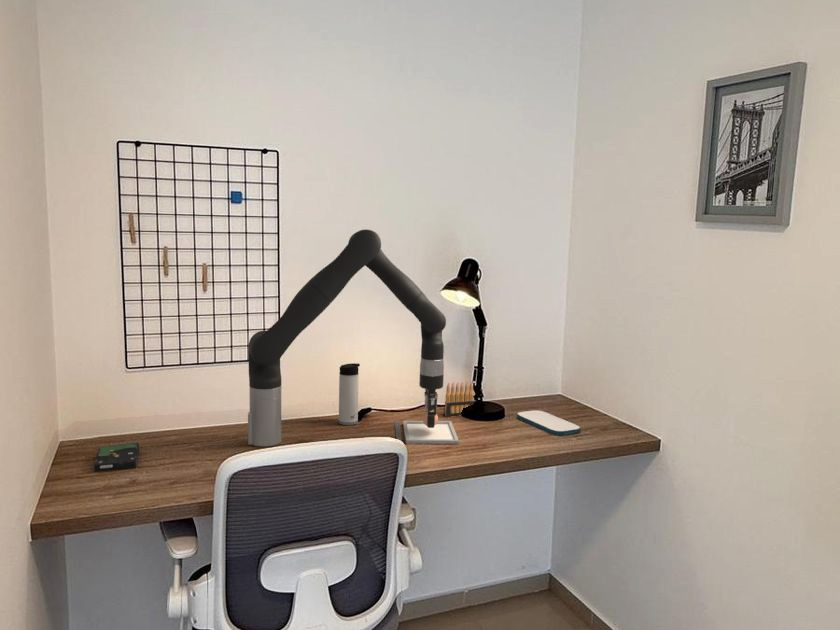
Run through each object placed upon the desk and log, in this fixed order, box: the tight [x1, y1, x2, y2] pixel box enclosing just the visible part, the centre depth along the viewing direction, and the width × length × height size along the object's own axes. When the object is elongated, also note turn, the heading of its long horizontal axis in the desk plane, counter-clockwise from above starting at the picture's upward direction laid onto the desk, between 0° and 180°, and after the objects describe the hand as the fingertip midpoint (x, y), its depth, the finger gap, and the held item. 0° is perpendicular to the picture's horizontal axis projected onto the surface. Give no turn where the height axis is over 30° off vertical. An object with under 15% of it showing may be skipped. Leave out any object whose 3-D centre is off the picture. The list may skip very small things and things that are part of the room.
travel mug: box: [338, 362, 361, 426], centre depth 219 cm, size 6×7×20 cm
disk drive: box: [93, 442, 140, 473], centre depth 180 cm, size 10×3×15 cm
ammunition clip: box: [443, 381, 475, 418], centre depth 232 cm, size 11×2×12 cm, turn 111°
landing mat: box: [394, 420, 460, 445], centre depth 211 cm, size 19×22×1 cm
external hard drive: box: [516, 409, 581, 437], centre depth 225 cm, size 24×12×2 cm, turn 28°
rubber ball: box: [421, 410, 439, 426], centre depth 211 cm, size 5×5×5 cm
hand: (430, 424), depth 211 cm, fingers closed on rubber ball, 5 cm apart
